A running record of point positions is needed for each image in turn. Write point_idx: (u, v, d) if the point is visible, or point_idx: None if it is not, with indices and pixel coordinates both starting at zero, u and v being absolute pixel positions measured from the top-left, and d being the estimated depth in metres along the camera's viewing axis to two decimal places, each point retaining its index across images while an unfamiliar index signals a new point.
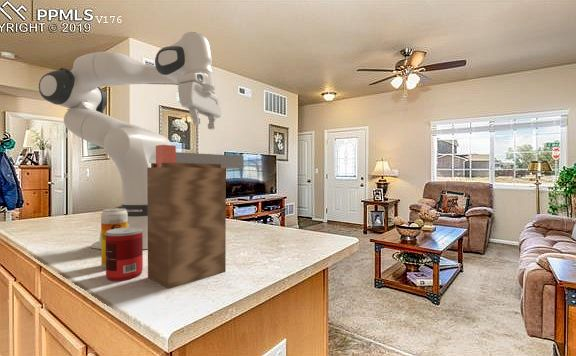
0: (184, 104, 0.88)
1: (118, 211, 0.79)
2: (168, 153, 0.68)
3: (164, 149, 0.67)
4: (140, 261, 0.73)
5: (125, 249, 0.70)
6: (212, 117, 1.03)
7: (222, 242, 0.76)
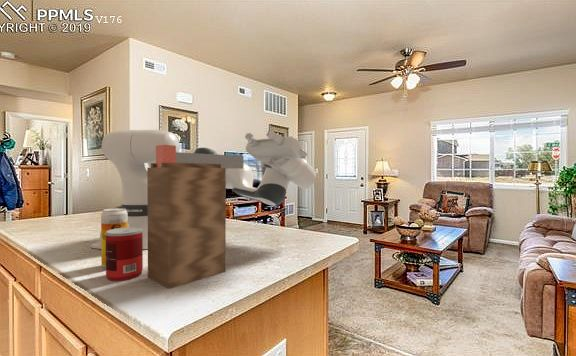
0: None
1: (118, 211, 0.79)
2: (168, 153, 0.68)
3: (164, 149, 0.67)
4: (140, 261, 0.73)
5: (125, 249, 0.70)
6: None
7: (222, 242, 0.76)
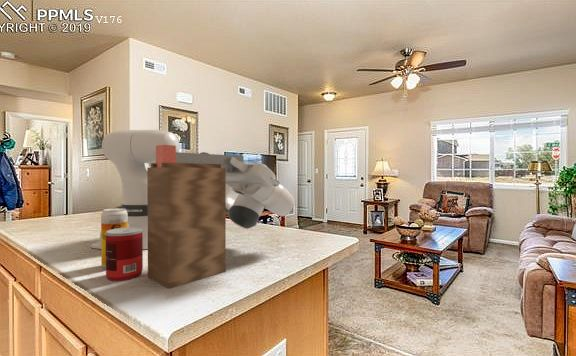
0: None
1: (118, 211, 0.79)
2: (168, 153, 0.68)
3: (164, 149, 0.67)
4: (140, 261, 0.73)
5: (125, 249, 0.70)
6: None
7: (222, 242, 0.76)
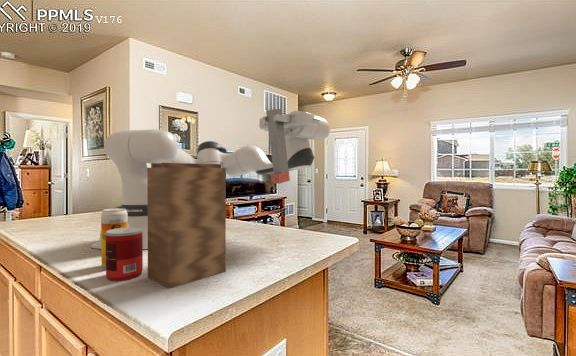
0: (259, 124, 1.04)
1: (118, 211, 0.79)
2: (282, 178, 0.97)
3: (281, 182, 0.97)
4: (140, 261, 0.73)
5: (125, 249, 0.70)
6: None
7: (222, 242, 0.76)
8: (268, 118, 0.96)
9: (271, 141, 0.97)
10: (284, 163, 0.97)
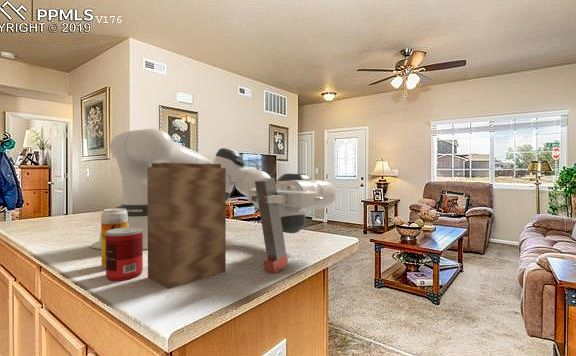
0: (248, 197, 0.84)
1: (118, 211, 0.79)
2: (279, 265, 0.76)
3: (277, 270, 0.76)
4: (140, 261, 0.73)
5: (125, 249, 0.70)
6: None
7: (222, 242, 0.76)
8: (258, 191, 0.75)
9: (263, 219, 0.76)
10: (280, 246, 0.77)
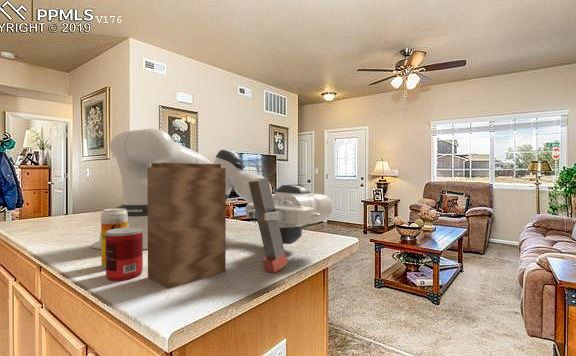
0: None
1: (118, 211, 0.79)
2: (278, 264, 0.76)
3: (277, 269, 0.76)
4: (140, 261, 0.73)
5: (125, 249, 0.70)
6: None
7: (222, 242, 0.76)
8: (252, 191, 0.75)
9: (259, 219, 0.76)
10: (278, 244, 0.77)
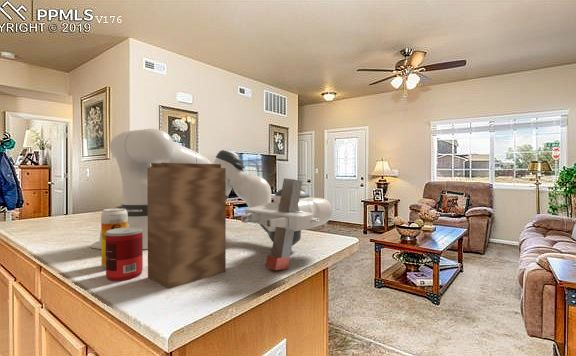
0: None
1: (118, 211, 0.79)
2: (281, 264, 0.77)
3: (278, 268, 0.76)
4: (140, 261, 0.73)
5: (125, 249, 0.70)
6: None
7: (222, 242, 0.76)
8: (284, 188, 0.80)
9: None
10: (287, 246, 0.78)
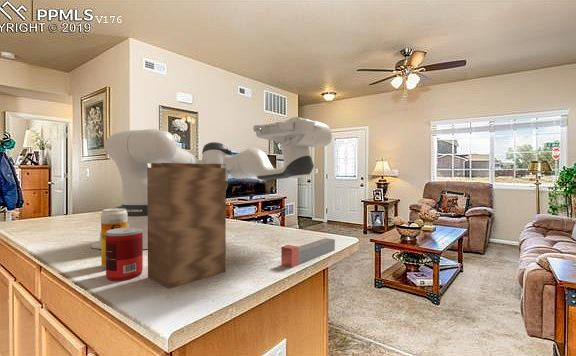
0: (256, 132, 0.97)
1: (118, 211, 0.79)
2: (294, 254, 0.81)
3: (292, 252, 0.80)
4: (140, 261, 0.73)
5: (125, 249, 0.70)
6: None
7: (222, 242, 0.76)
8: (323, 239, 0.98)
9: (310, 243, 0.92)
10: (304, 256, 0.85)
